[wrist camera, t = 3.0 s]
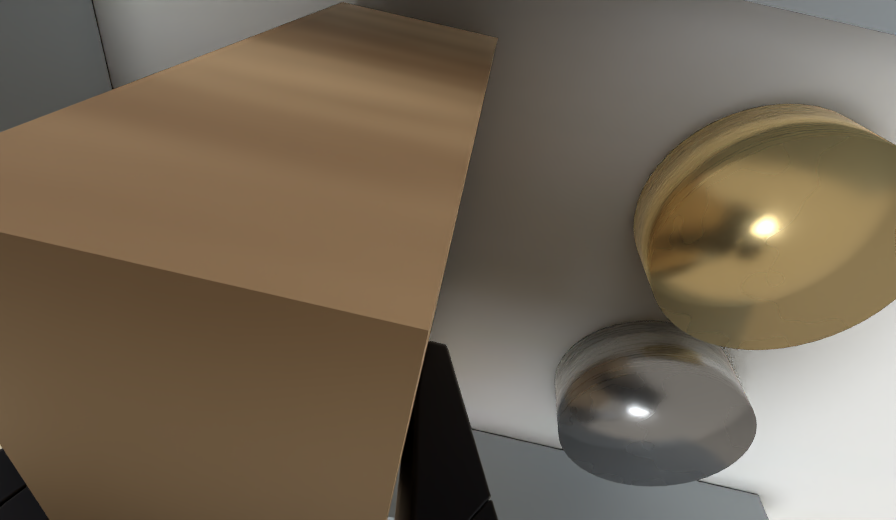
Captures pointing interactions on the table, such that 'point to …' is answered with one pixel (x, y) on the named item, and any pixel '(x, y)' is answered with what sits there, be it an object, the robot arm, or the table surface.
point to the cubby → (503, 459)
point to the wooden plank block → (235, 272)
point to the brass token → (771, 228)
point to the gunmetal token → (651, 406)
